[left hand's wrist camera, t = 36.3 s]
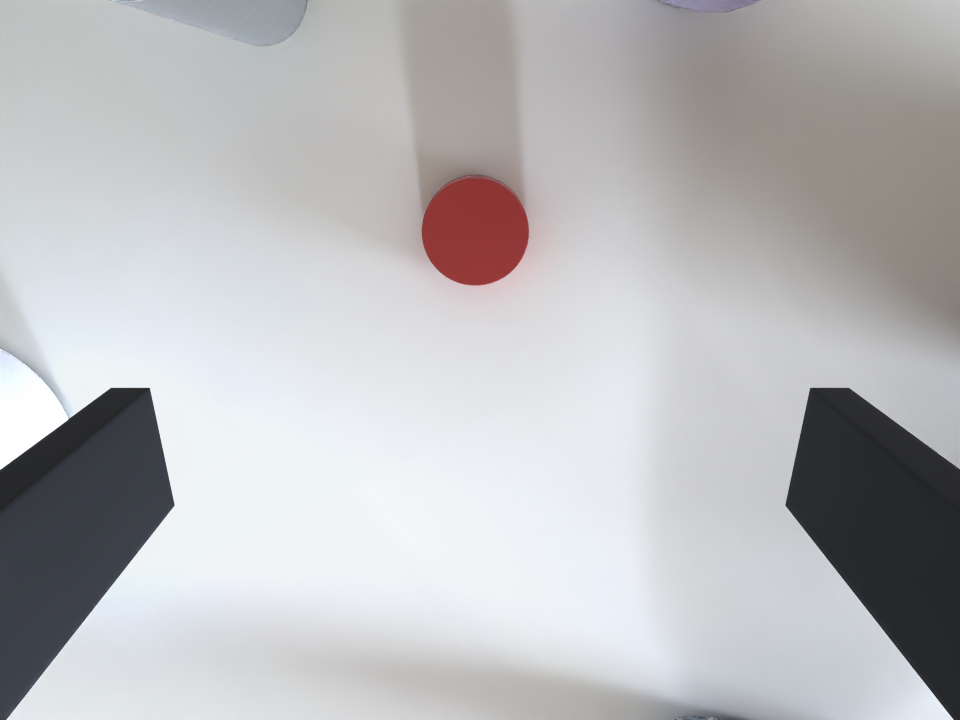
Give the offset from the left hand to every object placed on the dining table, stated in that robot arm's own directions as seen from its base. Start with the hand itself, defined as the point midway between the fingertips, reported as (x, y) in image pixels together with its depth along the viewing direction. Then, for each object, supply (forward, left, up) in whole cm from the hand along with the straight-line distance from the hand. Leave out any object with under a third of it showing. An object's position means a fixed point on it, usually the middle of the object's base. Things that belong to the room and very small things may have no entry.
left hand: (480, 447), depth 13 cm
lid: (0, 0, -25) cm, 25 cm away
